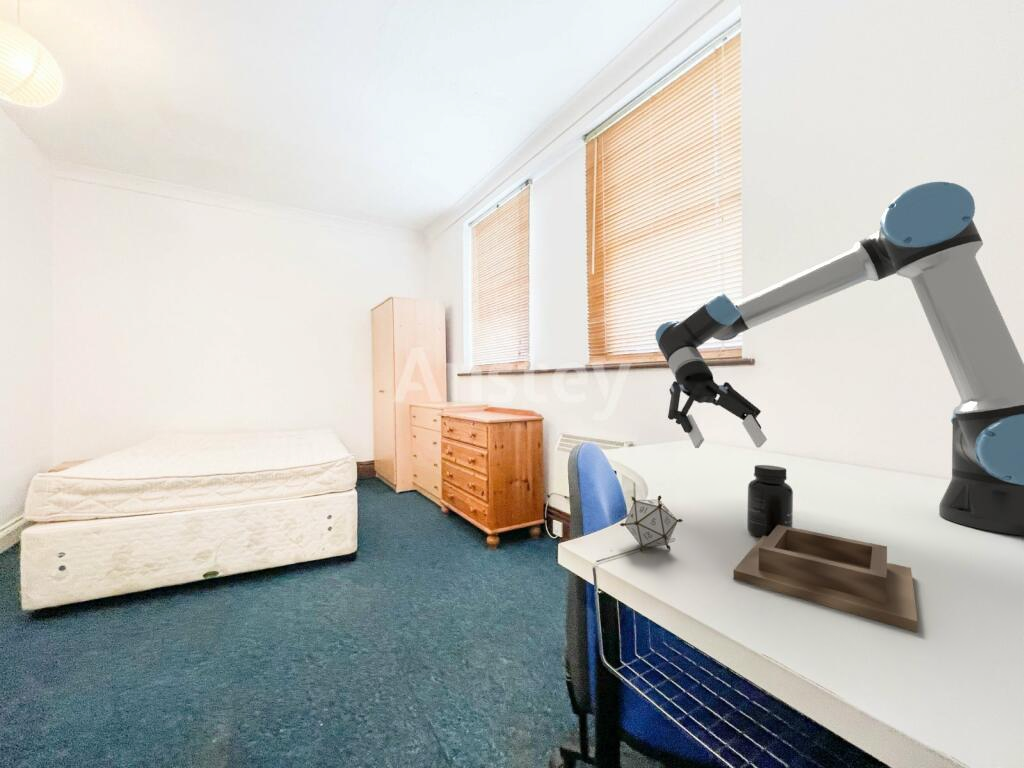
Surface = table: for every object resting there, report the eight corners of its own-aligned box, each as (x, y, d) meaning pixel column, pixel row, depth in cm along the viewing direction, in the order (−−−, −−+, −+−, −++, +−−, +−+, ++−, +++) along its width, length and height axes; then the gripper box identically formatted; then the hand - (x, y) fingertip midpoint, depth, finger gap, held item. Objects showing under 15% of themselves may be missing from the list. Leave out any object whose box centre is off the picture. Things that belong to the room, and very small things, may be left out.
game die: (638, 570, 68) (600, 517, 70) (663, 540, 73) (627, 491, 75) (678, 561, 61) (635, 502, 63) (703, 528, 66) (663, 474, 68)
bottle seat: (910, 576, 58) (911, 546, 58) (917, 632, 45) (917, 593, 45) (762, 542, 71) (763, 517, 71) (733, 578, 57) (733, 547, 57)
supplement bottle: (800, 544, 70) (800, 472, 70) (755, 540, 72) (756, 469, 72) (782, 530, 77) (783, 464, 77) (741, 527, 78) (742, 462, 78)
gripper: (731, 382, 104) (777, 454, 89) (635, 381, 100) (665, 455, 85) (746, 360, 98) (797, 431, 83) (645, 357, 95) (680, 432, 80)
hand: (731, 443), depth 84 cm, fingers open, 13 cm apart
